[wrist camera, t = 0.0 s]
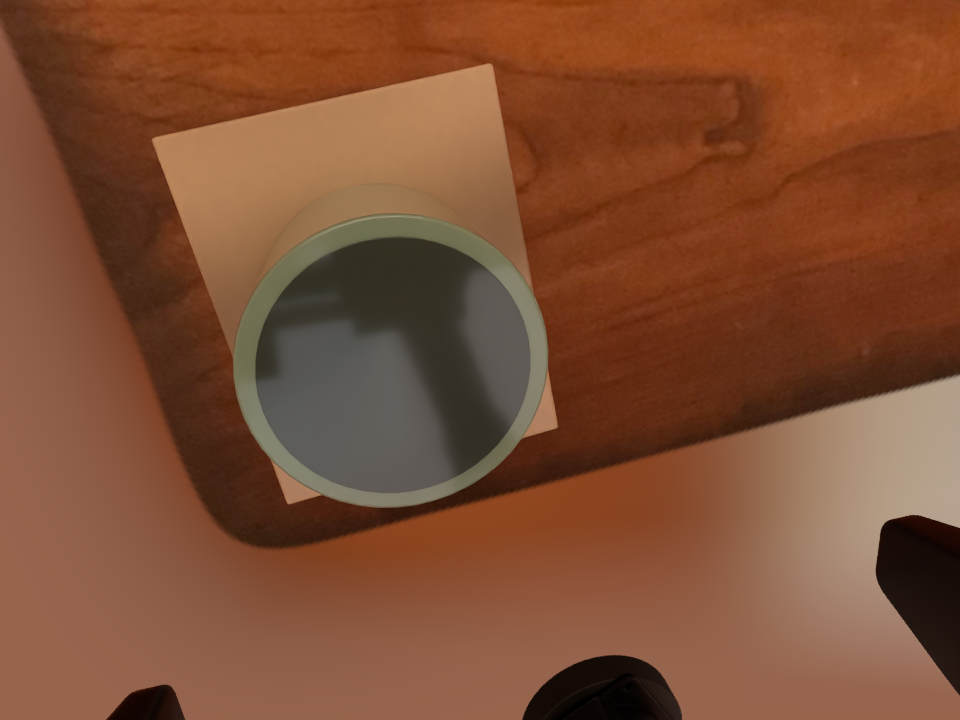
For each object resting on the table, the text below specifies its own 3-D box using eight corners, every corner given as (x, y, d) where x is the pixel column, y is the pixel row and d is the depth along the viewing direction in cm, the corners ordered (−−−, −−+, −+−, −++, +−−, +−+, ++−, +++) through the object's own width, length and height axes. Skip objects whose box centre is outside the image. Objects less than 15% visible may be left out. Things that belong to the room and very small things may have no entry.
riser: (510, 358, 26) (558, 428, 20) (298, 415, 25) (287, 505, 19) (452, 72, 22) (492, 62, 16) (198, 128, 21) (149, 138, 15)
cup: (537, 321, 19) (604, 392, 14) (361, 449, 19) (370, 561, 14) (404, 131, 16) (432, 143, 12) (206, 281, 17) (157, 350, 12)
